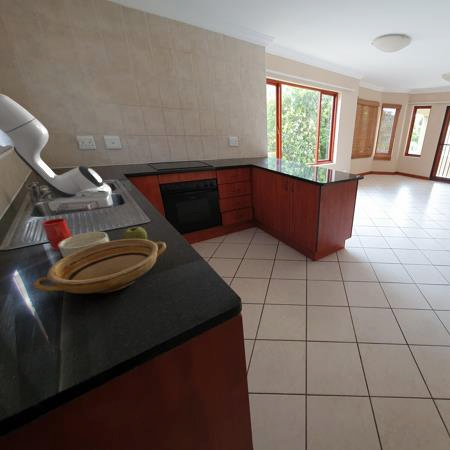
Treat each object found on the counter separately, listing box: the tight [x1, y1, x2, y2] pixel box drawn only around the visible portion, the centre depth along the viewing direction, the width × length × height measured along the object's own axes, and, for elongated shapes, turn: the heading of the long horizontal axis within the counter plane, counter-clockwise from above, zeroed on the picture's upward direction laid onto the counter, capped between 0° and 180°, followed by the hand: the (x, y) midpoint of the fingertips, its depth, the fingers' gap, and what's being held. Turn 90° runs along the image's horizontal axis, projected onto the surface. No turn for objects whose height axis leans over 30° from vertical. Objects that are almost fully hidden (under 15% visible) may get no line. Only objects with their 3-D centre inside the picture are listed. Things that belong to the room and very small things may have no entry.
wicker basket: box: [33, 238, 167, 295], centre depth 67 cm, size 30×24×8 cm
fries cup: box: [41, 218, 73, 251], centre depth 86 cm, size 6×6×10 cm
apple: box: [121, 226, 148, 240], centre depth 87 cm, size 8×8×7 cm
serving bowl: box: [58, 231, 111, 258], centre depth 84 cm, size 13×13×4 cm
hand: (72, 208), depth 94 cm, fingers open, 8 cm apart
